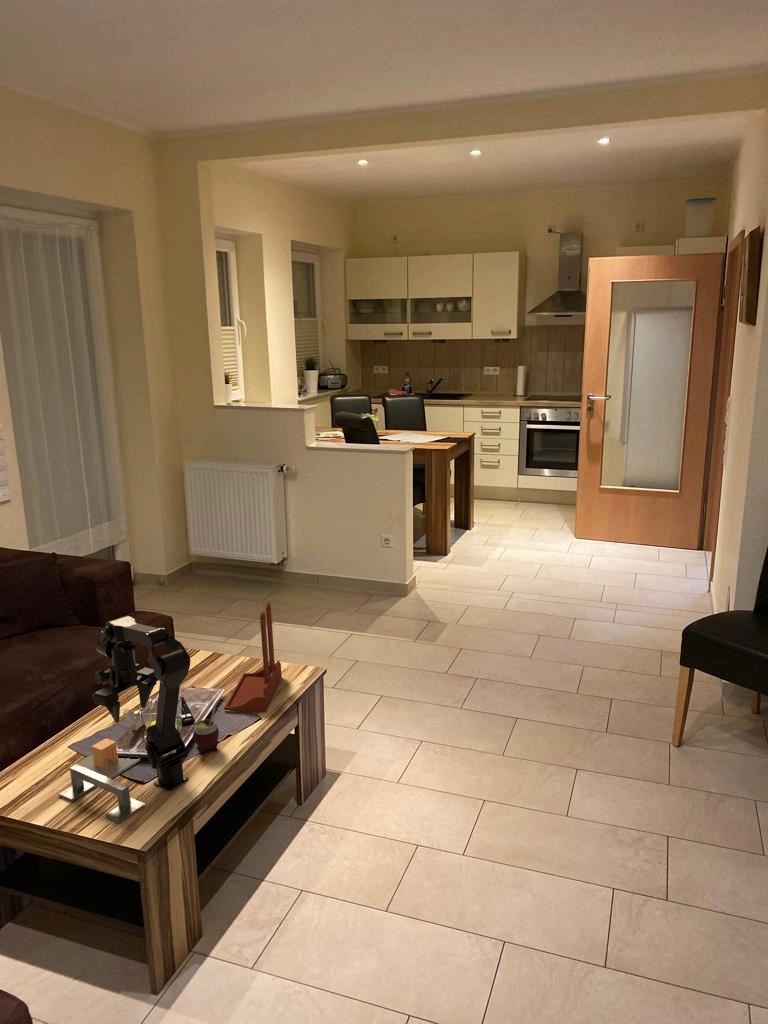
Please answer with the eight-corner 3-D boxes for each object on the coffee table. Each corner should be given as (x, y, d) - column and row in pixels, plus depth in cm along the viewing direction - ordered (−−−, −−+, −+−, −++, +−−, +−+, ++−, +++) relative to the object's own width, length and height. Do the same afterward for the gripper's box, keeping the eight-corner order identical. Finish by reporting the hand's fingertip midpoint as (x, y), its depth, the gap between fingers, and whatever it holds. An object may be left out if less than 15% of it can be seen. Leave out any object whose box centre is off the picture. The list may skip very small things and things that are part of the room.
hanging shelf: (243, 677, 263) (237, 594, 256) (281, 678, 262) (276, 594, 255) (224, 712, 240) (216, 622, 233) (266, 712, 239) (259, 622, 232)
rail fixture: (145, 806, 193) (142, 781, 192) (119, 824, 187) (116, 798, 185) (85, 780, 205) (82, 757, 204) (59, 796, 199) (55, 772, 197)
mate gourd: (190, 754, 216) (185, 705, 213) (203, 740, 224) (199, 692, 220) (214, 757, 214) (209, 708, 211) (227, 743, 222) (223, 695, 218)
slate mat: (141, 760, 214) (140, 759, 214) (105, 782, 204) (105, 780, 204) (107, 747, 221) (107, 745, 221) (71, 768, 211) (71, 766, 211)
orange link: (118, 760, 213) (115, 741, 212) (103, 768, 209) (101, 749, 208) (108, 756, 215) (106, 738, 214) (94, 764, 211) (91, 746, 210)
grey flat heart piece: (140, 723, 234) (137, 699, 232) (145, 724, 234) (142, 700, 232) (125, 735, 228) (122, 710, 226) (130, 736, 227) (127, 711, 225)
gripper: (130, 644, 221) (136, 694, 225) (75, 669, 206) (82, 723, 209) (158, 651, 215) (163, 703, 219) (103, 678, 200) (110, 732, 204)
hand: (130, 714), depth 213 cm, fingers open, 9 cm apart
